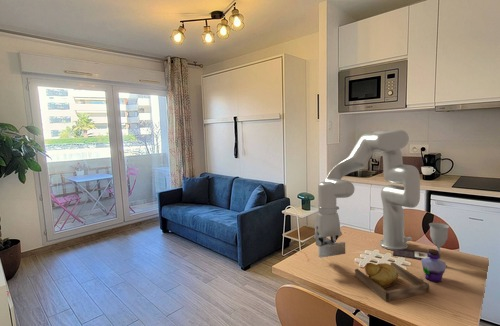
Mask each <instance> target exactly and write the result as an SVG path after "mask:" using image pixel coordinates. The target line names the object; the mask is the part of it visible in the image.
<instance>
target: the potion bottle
mask: <svg viewBox="0 0 500 326" xmlns="http://www.w3.org/2000/svg"><path fill="white" fill-rule="evenodd" d="M426 252H427V256H428V257H429V258H423V259H421V260H420V261H421V265H422V271H423V273H424V275H425V276H424V279H425V280H426V281H429V282H430V283H435V284H438V283H442V279H443V276H444V274H445V271H446V269H447V263H446V262H445V261H443V260H442V259H441V252H440V253H439V251H438V250H437V249H434V248H430V249H429V248H428V251H426ZM439 258H440V259H441V260H442V261H441V260H439Z"/></svg>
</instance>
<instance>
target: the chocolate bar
mask: <svg viewBox="0 0 500 326" xmlns="http://www.w3.org/2000/svg"><path fill="white" fill-rule="evenodd" d="M392 251H393V252H392V256H394V257H397V258H398V257H399V258H405V259H413V260H418V261H422V260H421V259H423V258H429V257H428V256H427V252H428V251H422V250H416V249H409V248H407V249H404V250H392Z"/></svg>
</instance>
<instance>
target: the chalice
mask: <svg viewBox="0 0 500 326" xmlns="http://www.w3.org/2000/svg"><path fill="white" fill-rule="evenodd" d="M428 225H429V236H430V239H431V241H432V243H433V245H435V246H436V250H438V251H439V253H440V254H441V249H440V248H441V247H443V246H444V245H445V244H446V242H447V240H448V236H449V235H448V234H449V232H448V231H449V228H450V225H448V224H447V223H441V222H430V223H428ZM439 260H441V261H443V260H442V259H441V257H440V258H439Z"/></svg>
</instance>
